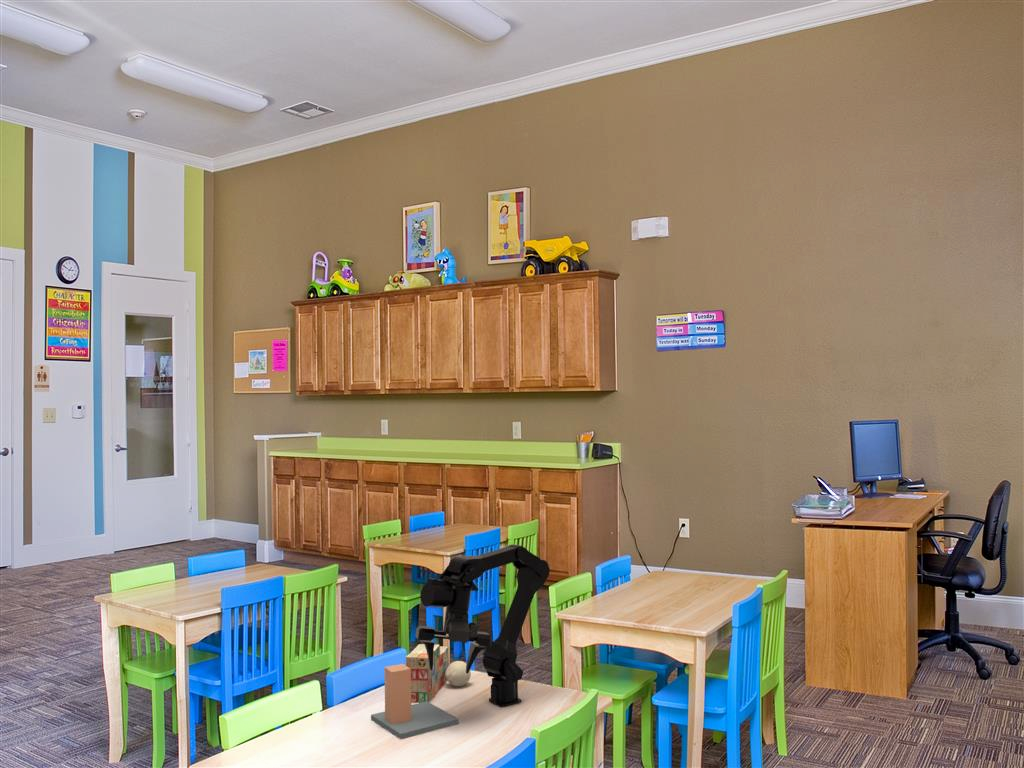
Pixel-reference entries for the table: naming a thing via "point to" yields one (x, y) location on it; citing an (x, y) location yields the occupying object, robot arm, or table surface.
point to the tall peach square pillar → (397, 693)
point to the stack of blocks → (427, 672)
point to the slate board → (418, 720)
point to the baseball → (457, 673)
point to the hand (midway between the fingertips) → (449, 671)
